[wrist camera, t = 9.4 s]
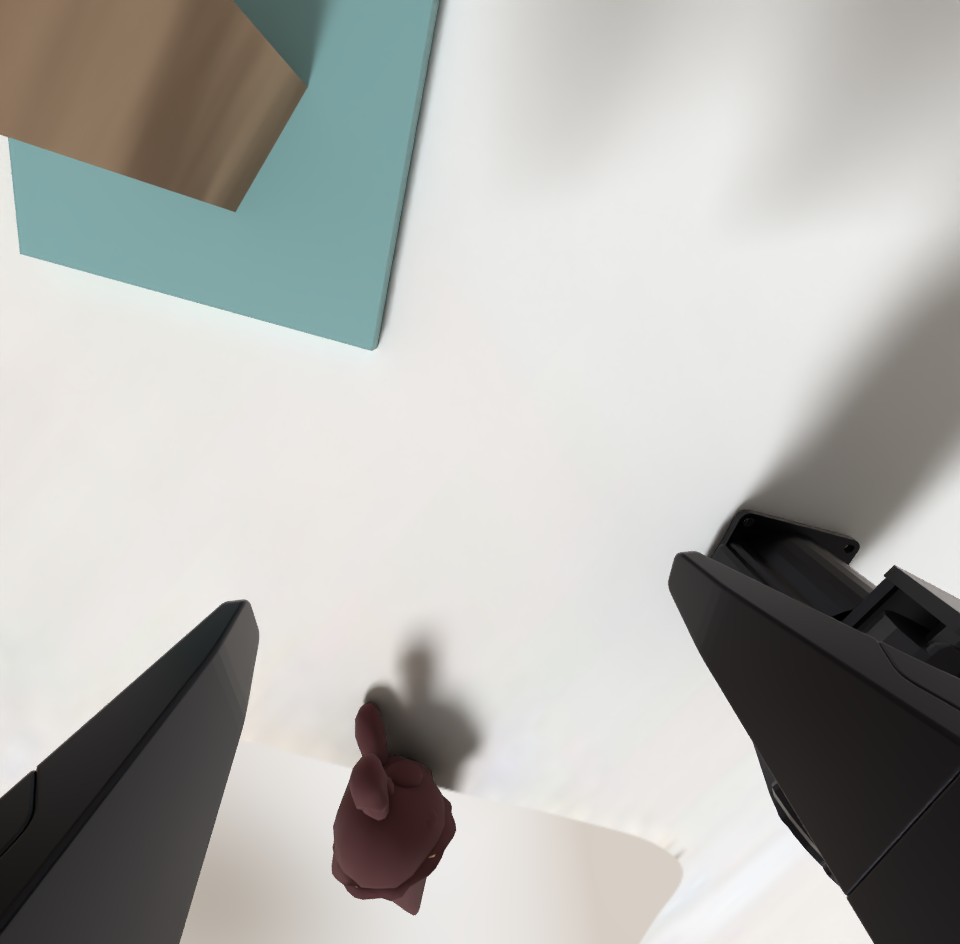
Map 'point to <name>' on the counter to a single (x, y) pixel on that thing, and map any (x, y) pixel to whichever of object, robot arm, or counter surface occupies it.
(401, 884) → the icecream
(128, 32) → the walnut pillar
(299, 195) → the teal board
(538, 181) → the counter surface
